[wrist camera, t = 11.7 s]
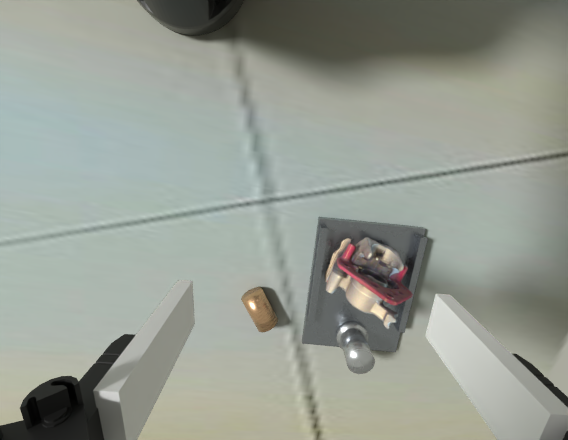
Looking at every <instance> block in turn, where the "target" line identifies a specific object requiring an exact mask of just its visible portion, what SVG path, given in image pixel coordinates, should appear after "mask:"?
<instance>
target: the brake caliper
mask: <svg viewBox="0 0 568 440" xmlns="http://www.w3.org/2000/svg"><path fill="white" fill-rule="evenodd" d="M407 270H408V267H407V266H406V265H403V263H402V260H401V258H400V256H399V253H398V252H397V250H396V249H394V248H392V247H390V246H387V245H384V244H380V243H378V242H376V241H374V240H372V239H370V238H368V237H366V238H364V239H363V240H361V241H360V242H358V243H357V244H356V246H355V245H354V244H352V243H351V239H349V238H347V239H345V240H343V241H342V242H341V246H340V248H339V249H338V250H336V251H335V252H334V253H333V255H332V258H331V261H330V264H329V267H328V269H327V271H326V274H325V282H327V285H326V291H327V292H328V293H331V294H333V293H334V292H335V291H336V290H337V288H338V287H341V288H342V289H343V290H344V291H345V292H346V298H347V300H348V301H349V303H350V304H351V305H352V306H353V307H355V308H356V309H358V310H360V311H362V312H364V313H367V314H374V315H375V316H377V317H378V318H379V319H380V320H382V321H383V322H384V326H385V327H386V328H387V329H389V328H390V327H389V326H390V325H391V324H392V323H396V321H397V320H396V317H397V316H398V313H397V312H395V311H393V310H391V309H390V308H388V306H389V305H390V304H391V305H398V304H401V303H402V302H404V301H406V300H408V299H409V298H412V296H413V294H412V292H411V291H410V290H408V289H407V288H406V287H405V286H404V285H403V284H402V283H401V280H402V279H403V277H404V275H405V274H406V272H407Z"/></svg>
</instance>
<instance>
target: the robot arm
mask: <svg viewBox="0 0 568 440" xmlns="http://www.w3.org/2000/svg"><path fill="white" fill-rule="evenodd" d="M137 1H138V2H139V3H140V5H141V6H142V7H143V8H144V9H145V10H146V11H147V12H148V13H149V14H150V15H151V16H152V17H153V18H154V19H155V20H157V21H158V22H159V23H160V24H162V25H163V26H165V27H166V28H168V29H170V30H172V31H175V32H178V33H181V34H186V35H202V34H207V33H210V32H213V31H215V30H217V29H219V28H221V27H222V26H224V25H225V24H226V23H227V22H229V21H230V20H231V19H232V18H233V16H234V15H235V14H236V13H237V11H238V10H239V8H240V7H241V5H242V3H243V1H244V0H137ZM194 324H195V321H194V301H193V282H192V281H188V280H178V281H177V282H176V283H175V285H174V286H173V287H172V289H171V290H170V291H169V293H168V294H167V295H166V296H165V298H164V299H163V300H162V302H161V303H160V304H159V306H158V307H157V308H156V309H155V311H154V312H153V313H152V315H151V316H150V317H149V319H148V320H147V321H146V322H145V324H144V325H143V326H142V328H141V329H140V330H139V332H138V333H137V334H136V335H129V334H124V335H123V336H121V337H120V338H118V339H117V340H115V341H114V342H113V343H111V345H110V346H109V347H108V348H107V349H106V350H105V352H104V353H103V355H101V356H100V357H99V359H98V360H97V361H96V363H95V364H94V365H93V366H92V367H91V368H90V369H89V370H88V372H87V373H86V374H85V375H84V376H83V377H82V379H81V380H80V381H79V382H78V380H77V378H74V377H72V376H61V377H58V378H54V379H51V380H49V381H47V382H45V383H43V384H41V385H39V386H38V387H37V388H35V389H34V390H32V391H31V392H30V393H29V394H28V395H27V396H26V398H25V399H24V400H23V402H22V404H21V407H20V410H21V413H22V416H23V419H24V420H23V421H19V422H14V423H10V424H6V425H1V426H0V440H137V439H138V437H139V435H140V433H141V431H142V429H143V427H144V425H145V423H146V421H147V419H148V417H149V415H150V413H151V411H152V409H153V407H154V405H155V403H156V401H157V399H158V397H159V395H160V393H161V391H162V389H163V387H164V385H165V383H166V381H167V379H168V377H169V375H170V373H171V371H172V369H173V366H174V364H175V362H176V360H177V358H178V356H179V354H180V352H181V350H182V348H183V346H184V344H185V342H186V340H187V338H188V336H189V334H190V332H191V330H192V328H193V326H194ZM426 338H427V339H428V341H429V342H430V343H431V345H432V346H433V348H434V349H435V351H436V352H437V354H438V355H439V356H440V358H441V359H442V361H443V362H444V364H445V365H446V366H447V368H448V369H449V371H450V372H451V374H452V375H453V376H454V378H455V379H456V381H457V382H458V384H459V385H460V387H461V388H462V389H463V391H464V392H465V394H466V395H467V397H468V398H469V399H470V401H471V402H472V404H473V405H474V407H475V408H476V410H477V411H478V412H479V414H480V415H481V417H482V418H483V420H484V421H485V422H486V424H487V425H488V427H489V428H490V430H491V431H492V433H493V434H494V435H495V437H496V438H497V440H568V397H567V396H566V395H565V394H564V393H562V392H561V391H560V390H559V389H558V388H557V387H554V385H553V383H552V382H551V381H549V380H548V379H547V378H546V377H544V375H543V374H542V373H541V372H540V371H539V370H538V369H537V368H535V367H534V366H533V365H532V364H531V363H529V362H528V361H526V360H525V359H523V358H522V357H520V356H519V355H517V354H511V353H510V352H509V351H508V350H507V349H506V348H505V347H504V346H503V345H502V344H501V343H500V342H499V341H498V340H497V339H496V338H495V337H494V336H493V335H492V334H491V333H490V332H489V331H488V330H486V329H485V328H484V327H483V326H482V325H481V324H480V323H479V322H478V321H477V320H476V319H475V318H474V317H473V316H472V315H471V314H470V313H469V312H468V311H467V310H466V309H465V308H464V307H463V306H462V305H461V304H459V303H458V302H457V301H456V300H455V299H454V298H453V297H452V296H451V295H450V294H436V295H435V299H434V303H433V307H432V311H431V315H430V320H429V324H428V328H427V332H426Z"/></svg>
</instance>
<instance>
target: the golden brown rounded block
mask: <svg viewBox="0 0 568 440" xmlns="http://www.w3.org/2000/svg"><path fill="white" fill-rule="evenodd" d="M241 300H242V302H243V303H244V305H245V307H246V309H247V311H248V313H249V314H250V316H251V318H252V320H253V322H254V324H255V325H256V327H257V329H258V331H259V332H266V331H269V330H271V329H272V328H273V327H274V326H275V325H276V324H277V322H278V318H277V317H276V315H275V313H274V311H273V309H272V307H271V305H270V303H269V301H268V299H267V297H266V295H265V294H264V292H263V290H262V288H261V287H256V288H253V289H251V290H249V291H247V292H246V293H245V294H244V295H243V296H242V299H241Z"/></svg>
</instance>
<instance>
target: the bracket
mask: <svg viewBox="0 0 568 440" xmlns="http://www.w3.org/2000/svg"><path fill="white" fill-rule="evenodd" d="M425 230H426V229H425V228H423V227H415V226H405V225H395V224H385V223H375V222H365V221H355V220H345V219H335V218H325V217H319V219H318V226H317V234H316V241H315V248H314V256H313V263H312V270H311V277H310V285H309V292H308V299H307V307H306V314H305V321H304V329H303V336H302V343H303V344H314V345H325V346H336V347H341V348H342V349H343V351H344V355H345V358H346V362H347V366H348V368H349V369H350V370H351V371H352V372H354V373H357V374H363V373H367V372H369V371H370V370H371V369H372V368H373V366H374V363H375V360H374V357H373V355H372V352H371V350H378V351H389V352H396V349H397V345H398V340H399V336H400V332H402V333H404V332H405V328H406V324H407V320H408V316H409V312H410V308H411V304H412V300H413V296H414V292H415V288H416V284H417V280H418V276H419V272H420V268H421V264H422V260H423V256H424V252H425V248H426V244H427V240H428V238H426V237H425V236H424V234H425ZM366 237H368V238H370V239H372V240H374V241H376V242H378V243H380V244H384V245H387V246H390V247H392V248H394V249H396V250H397V252H398V253H399V256H400V258H401V260H402V263H403V265H406V266H407V267H408V270H407V272H406V274H405V275H404V277H403V279H402V280H401V283H402V284H403V285H404V286H405V287H406V288H407V289H408V290H410V291H411V292H412V294H413V296H412V298H409V299H408V300H406V301H404V302H402V303H401V304H398V305H391V304H390V305H389V306H388V308H390V309H391V310H393V311H395V312H397V313H398V316H397V317H396V320H397V321H396V323H392V324H391V325H390V326H389V327H390V328H389V329H387V328H386V327H385V326H384V322H383V321H382V320H380V319H379V318H378V317H377V316H375V315H374V314H367V313H364V312H362V311H360V310H358V309H356V308H355V307H353V306H352V305H351V304H350V303H349V301H348V300H347V298H346V292H345V291H344V290H343V289H342V288H341V287H338V288H337V290H336V291H335V292H334V293H333V294H331V293H328V292H327V291H326V285H327V282H325V274H326V271H327V269H328V267H329V264H330V261H331V258H332V255H333V253H334V252H335V251H336V250H338V249H339V248H340V246H341V242H342V241H343V240H345V239H347V238H349V239H351V243H352V244H354V245H355V246H356V244H357V243H358V242H360V241H361V240H363V239H364V238H366Z"/></svg>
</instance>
